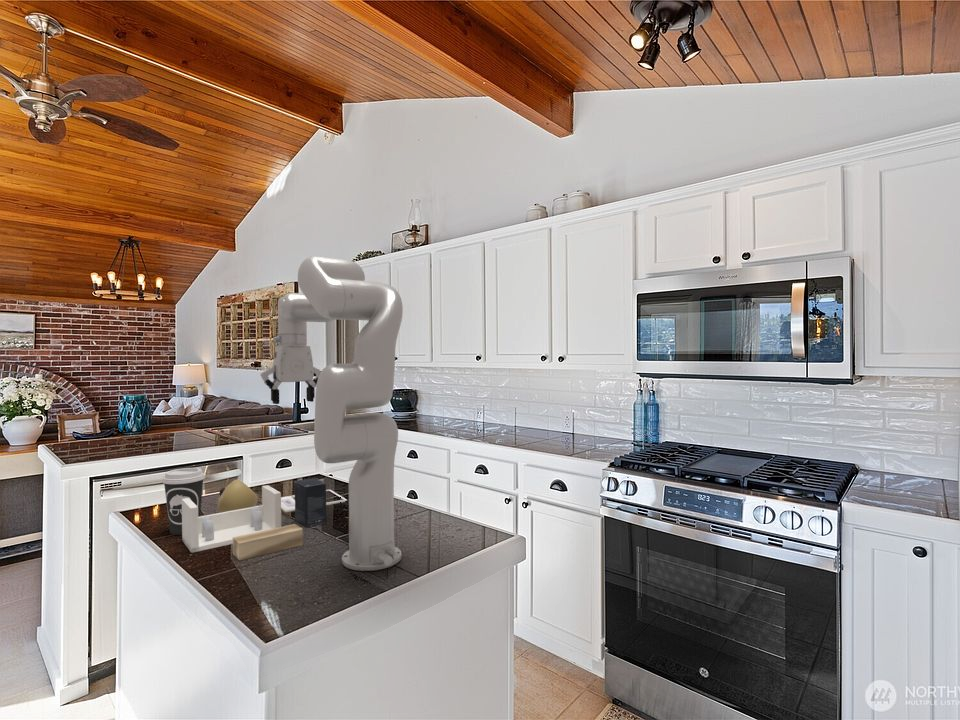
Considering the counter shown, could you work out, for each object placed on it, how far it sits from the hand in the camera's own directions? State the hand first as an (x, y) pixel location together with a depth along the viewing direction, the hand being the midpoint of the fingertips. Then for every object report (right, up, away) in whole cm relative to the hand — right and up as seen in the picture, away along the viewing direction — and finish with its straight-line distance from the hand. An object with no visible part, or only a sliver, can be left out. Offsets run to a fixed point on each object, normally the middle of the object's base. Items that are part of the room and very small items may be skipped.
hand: (293, 402), depth 148 cm
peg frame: (-8, -31, -19) cm, 37 cm away
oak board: (+4, -32, -27) cm, 42 cm away
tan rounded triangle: (-14, -31, -4) cm, 34 cm away
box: (+7, -31, -7) cm, 33 cm away
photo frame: (+1, -31, +12) cm, 33 cm away
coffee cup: (-23, -31, -14) cm, 41 cm away
